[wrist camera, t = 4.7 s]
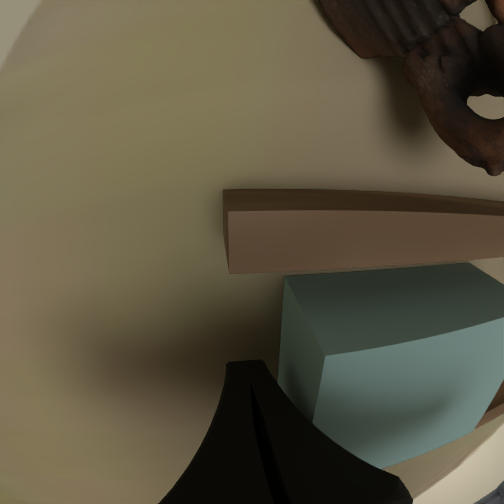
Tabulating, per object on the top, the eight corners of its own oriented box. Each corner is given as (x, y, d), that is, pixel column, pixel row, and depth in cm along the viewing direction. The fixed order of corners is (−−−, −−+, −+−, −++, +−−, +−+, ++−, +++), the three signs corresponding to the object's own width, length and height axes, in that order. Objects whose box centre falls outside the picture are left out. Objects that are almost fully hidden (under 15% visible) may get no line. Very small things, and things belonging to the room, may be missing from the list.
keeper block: (431, 378, 15) (472, 431, 10) (275, 410, 14) (295, 489, 9) (468, 262, 12) (535, 306, 8) (284, 275, 11) (325, 355, 7)
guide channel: (511, 373, 17) (532, 394, 14) (232, 448, 14) (238, 494, 12) (565, 210, 12) (597, 224, 10) (222, 189, 10) (227, 211, 7)
